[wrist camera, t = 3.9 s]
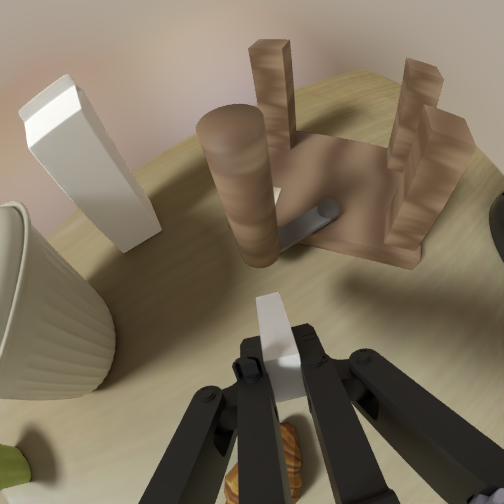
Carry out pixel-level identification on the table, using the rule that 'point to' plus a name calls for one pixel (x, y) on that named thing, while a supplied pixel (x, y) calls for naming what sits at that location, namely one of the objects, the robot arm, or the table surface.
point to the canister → (47, 318)
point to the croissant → (292, 463)
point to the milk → (88, 163)
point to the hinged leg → (252, 185)
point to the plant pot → (13, 467)
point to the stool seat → (363, 164)
